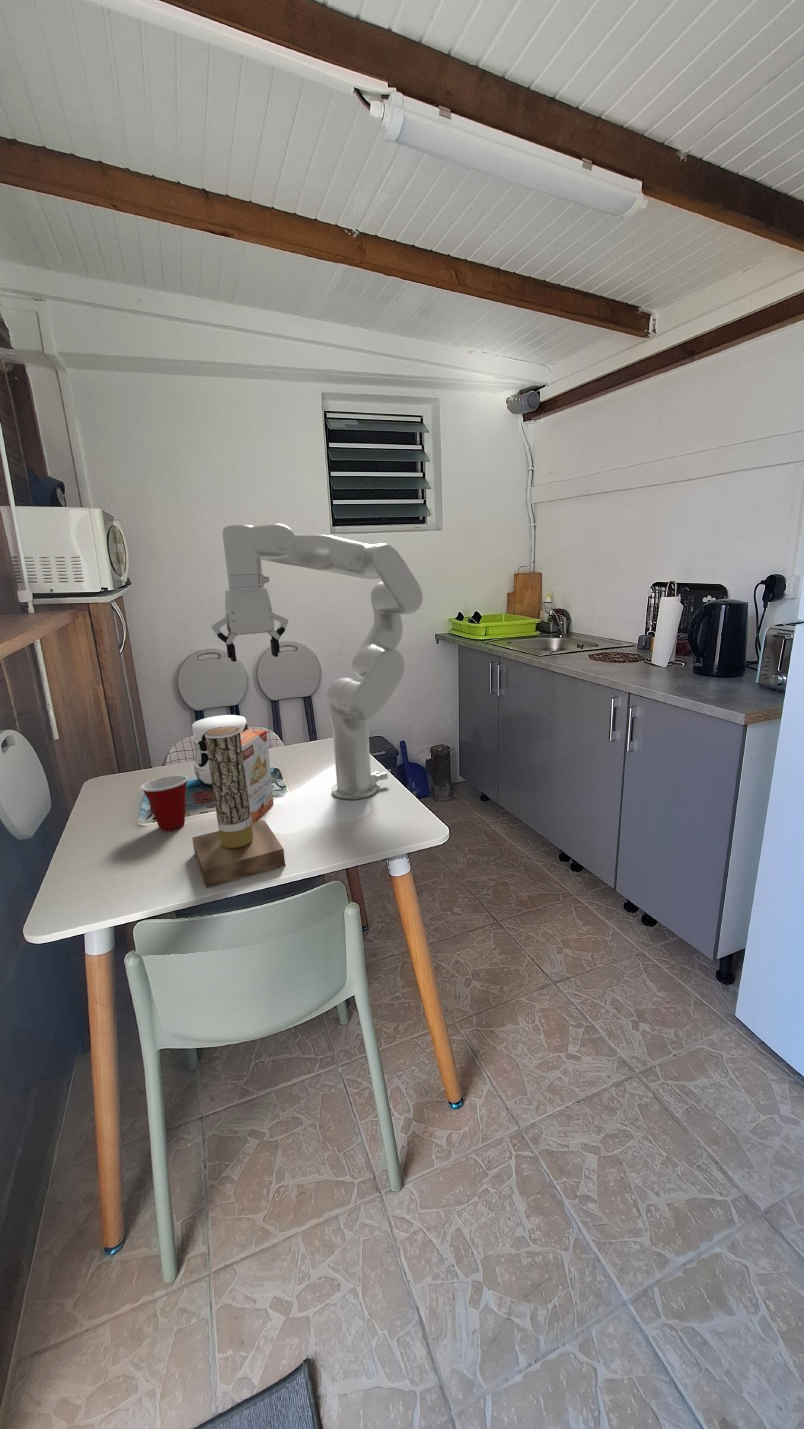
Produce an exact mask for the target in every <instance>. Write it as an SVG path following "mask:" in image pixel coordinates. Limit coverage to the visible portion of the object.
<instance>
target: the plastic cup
mask: <svg viewBox="0 0 804 1429" xmlns="http://www.w3.org/2000/svg"><path fill="white" fill-rule="evenodd" d="M188 780H189V777H188V776H187V775H183V774H174V775H167V776H163V777H158V778H154V779H151V780H149V781H147V782H144V783H143V784H142V785H141V786H140V789H141V791H142V792H143V793H144V795H145V796H146V798H147V801H148V802H149V805H150V808H151V811H152V813H153V816H154V819H155V820H156V823H157V826H158V828H159V829H160V831H162V832H172V831H173V832H174V831H176V830H179V829H181V828H183V827H184V825H185V822H186V811H187V810H186V805H187V804H186V803H187V797H186V796H187V786H188V785H187V783H188Z"/></svg>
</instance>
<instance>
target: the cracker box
mask: <svg viewBox="0 0 804 1429" xmlns="http://www.w3.org/2000/svg"><path fill="white" fill-rule="evenodd" d="M267 735H268V734H267V730H266V729H248V730H246V731H244V732H242V733H241V734H240V736H241V743H242V751H243V759H244V767H245V774H246V782H247V790H248V798H249V805H250V813H251V821H252V823H253V822H258V821H259V819H260V818H261V817H262V816H263V815H264V814H265V813H267V811H268V810H269V809H270V808H271V807H272V806H274V795H273V784H272V773H271V764H270V752H269V745H268V744H269V743H268V741H269V740H268V736H267Z"/></svg>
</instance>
